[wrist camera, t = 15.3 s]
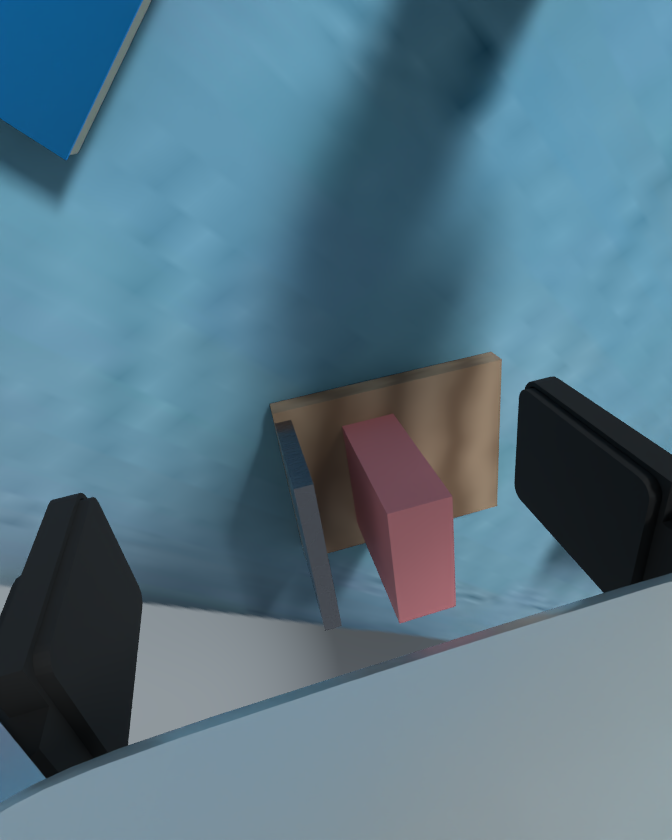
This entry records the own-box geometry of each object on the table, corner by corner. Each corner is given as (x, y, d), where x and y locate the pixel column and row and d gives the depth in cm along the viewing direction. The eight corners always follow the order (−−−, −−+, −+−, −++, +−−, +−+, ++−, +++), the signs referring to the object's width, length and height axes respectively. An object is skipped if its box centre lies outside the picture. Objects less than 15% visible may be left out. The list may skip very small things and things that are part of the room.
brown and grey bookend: (491, 351, 50) (567, 407, 40) (488, 495, 59) (549, 570, 49) (269, 403, 47) (291, 478, 37) (302, 546, 56) (327, 637, 46)
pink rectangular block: (393, 413, 49) (452, 496, 37) (402, 510, 55) (455, 606, 44) (342, 426, 48) (387, 514, 37) (357, 523, 54) (399, 623, 43)
